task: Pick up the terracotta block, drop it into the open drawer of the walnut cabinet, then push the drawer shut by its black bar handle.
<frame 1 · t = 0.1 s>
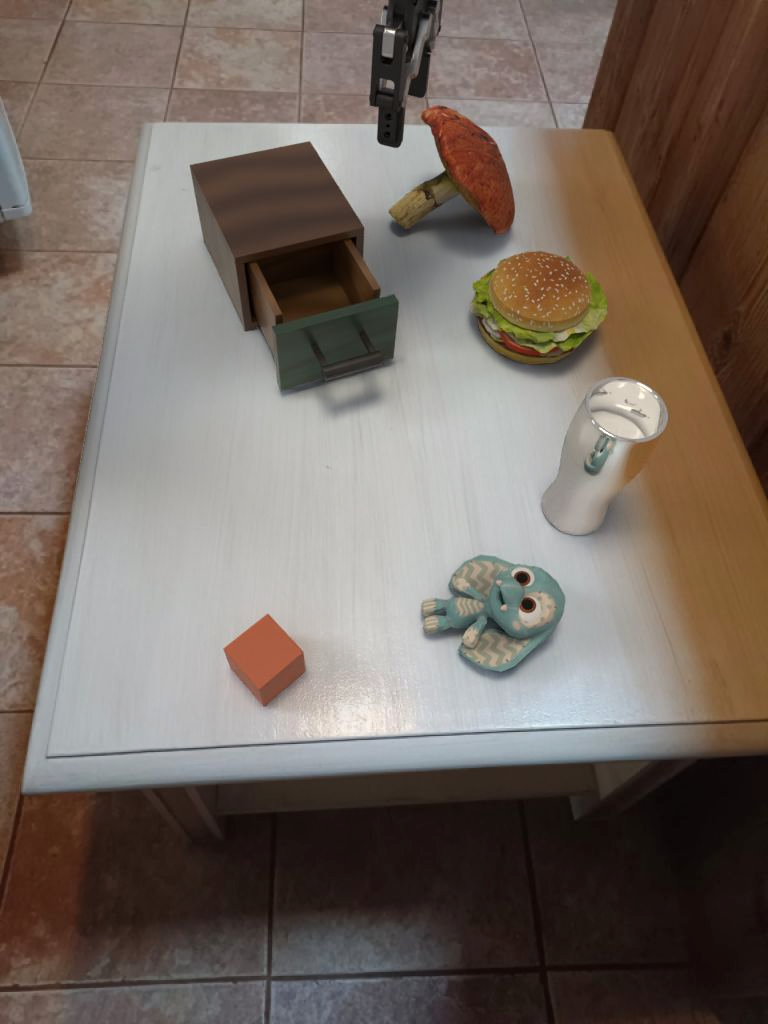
hand: (402, 118, 67), 20 cm above the table, tool pointing down, fingers open, 8 cm apart
cabinet: (280, 270, 84), on the table
stuffed animal: (487, 619, 63), on the table
food: (531, 332, 82), on the table
drawer: (319, 312, 74), point 5 cm above the table, slide at 9.0 cm
block: (268, 669, 59), on the table
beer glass: (572, 509, 70), on the table
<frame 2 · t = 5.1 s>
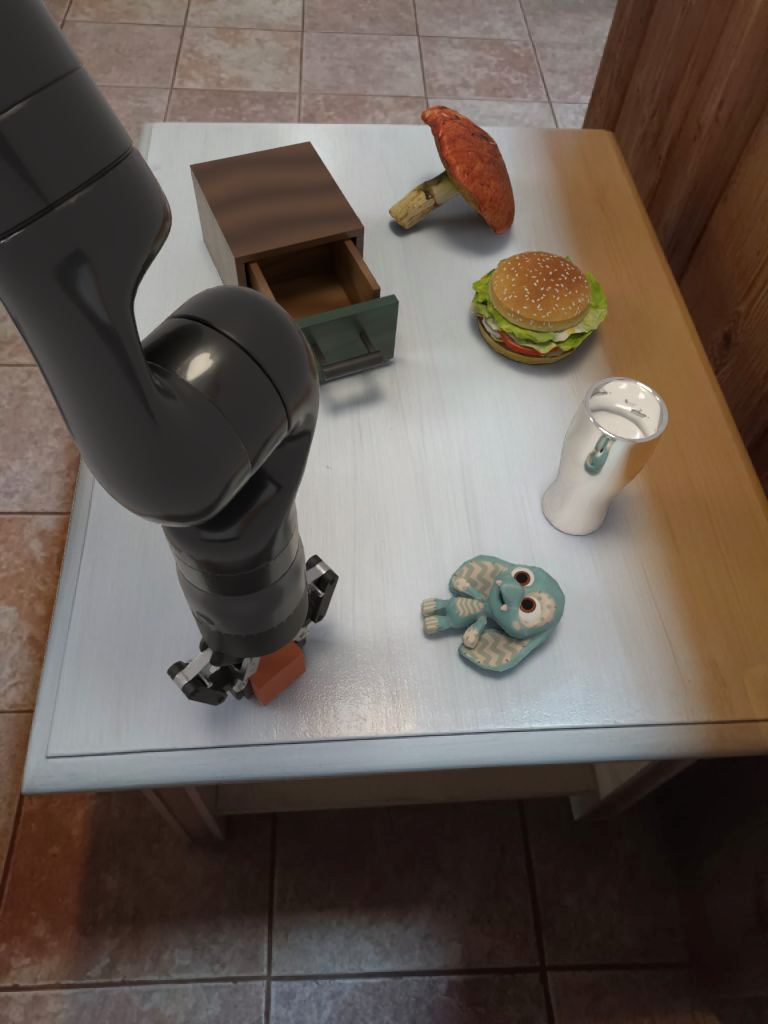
hand: (267, 668, 59), 0 cm above the table, tool pointing down, fingers closed on block, 4 cm apart
block: (268, 669, 59), on the table, touching gripper
everything else where it was.
when the fingers open (7 cm above the table, at t = 12.6 s): block drops 5 cm, resting on drawer.
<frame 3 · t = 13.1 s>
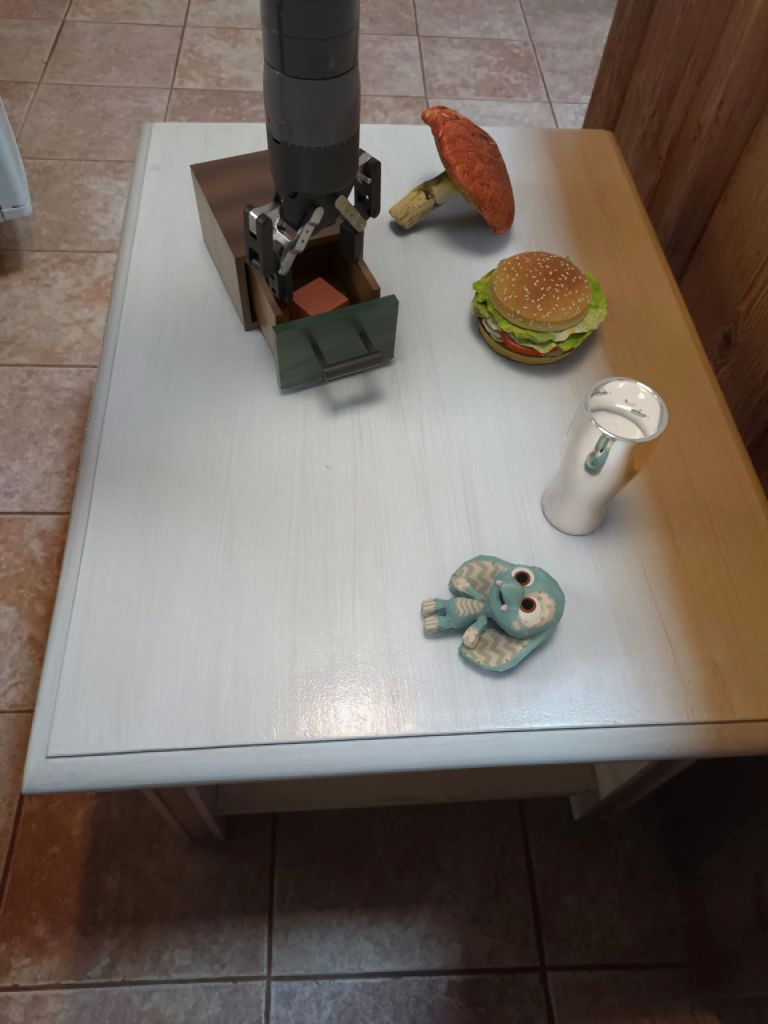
hand: (316, 278, 71), 9 cm above the table, tool pointing down, fingers open, 8 cm apart
drawer: (319, 312, 74), point 5 cm above the table, slide at 9.0 cm, touching block
block: (318, 329, 77), point 2 cm above the table, touching drawer
everything else where it was.
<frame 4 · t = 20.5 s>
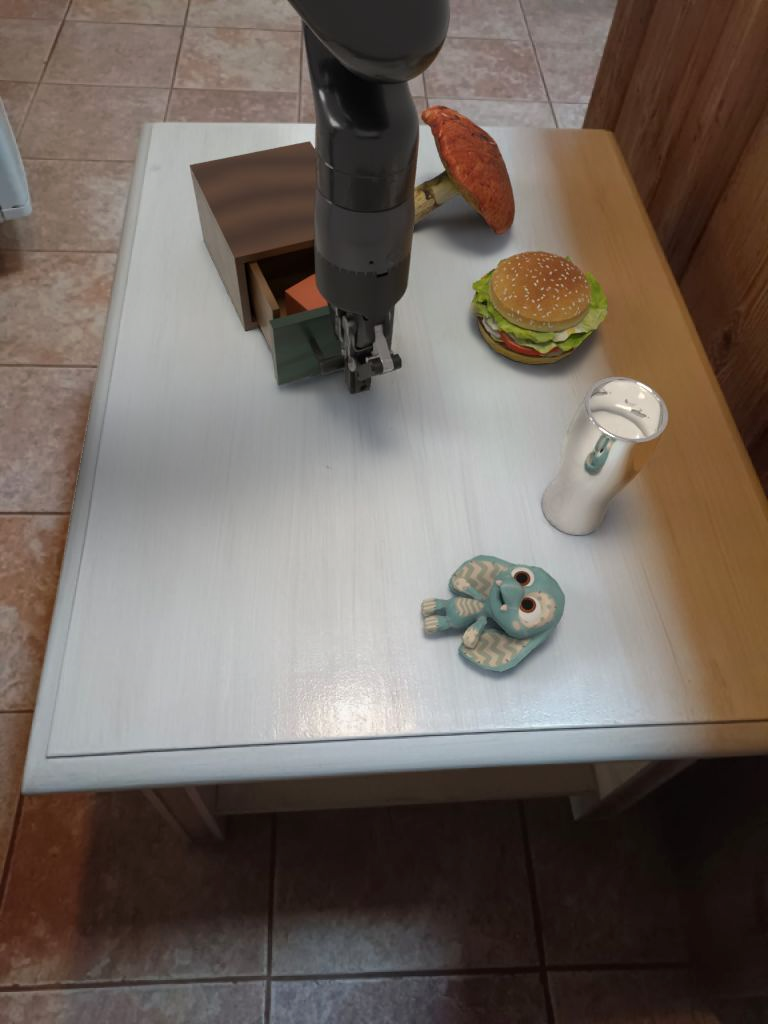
hand: (357, 387, 70), 5 cm above the table, tool pointing down, fingers closed
drawer: (317, 307, 75), point 5 cm above the table, slide at 8.2 cm, touching block, gripper
everything else where it was.
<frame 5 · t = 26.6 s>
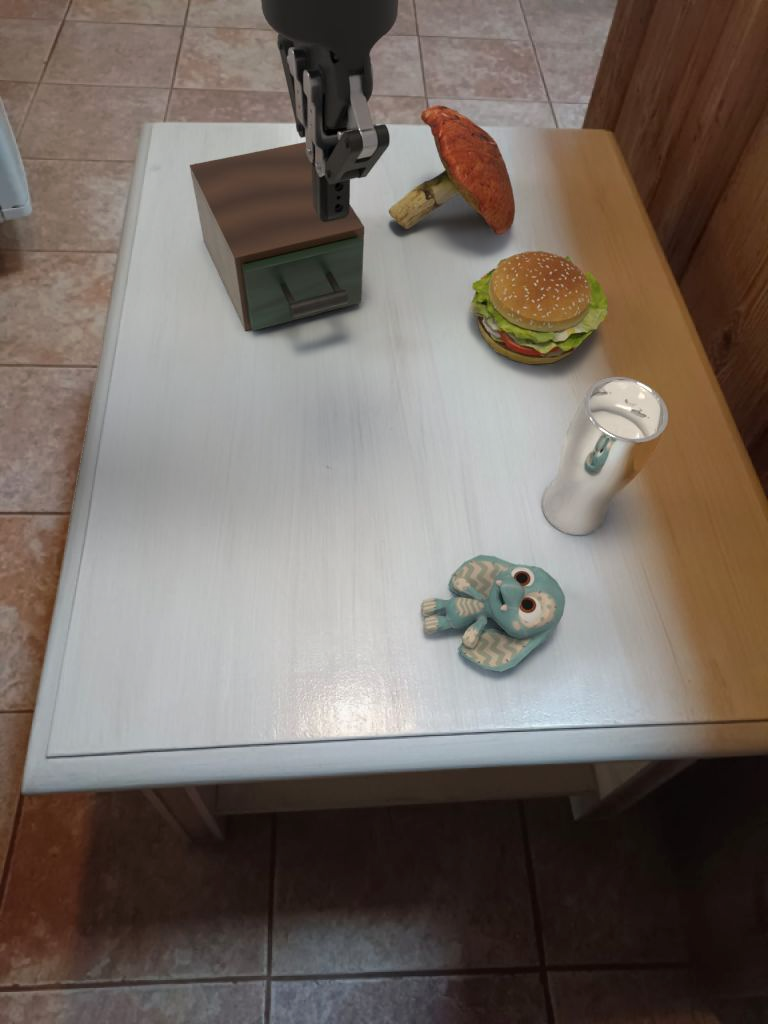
hand: (331, 214, 51), 25 cm above the table, tool pointing down, fingers closed
drawer: (290, 257, 78), point 5 cm above the table, slide at 0.0 cm, touching block, cabinet
block: (290, 274, 81), point 2 cm above the table, touching drawer
everything else where it was.
at the end: block inside the target area in the cabinet (3.4 cm from its centre), point 2.1 cm above the cabinet's base; drawer slide at 0.0 cm; the gripper is holding nothing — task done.
